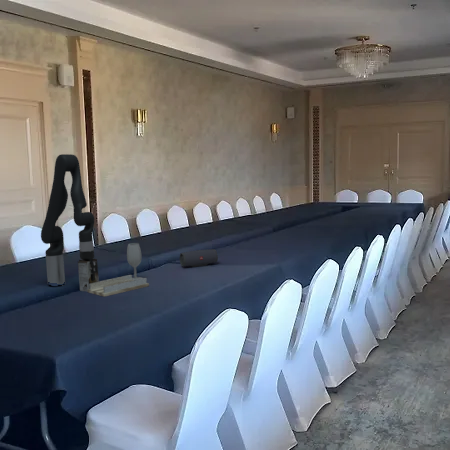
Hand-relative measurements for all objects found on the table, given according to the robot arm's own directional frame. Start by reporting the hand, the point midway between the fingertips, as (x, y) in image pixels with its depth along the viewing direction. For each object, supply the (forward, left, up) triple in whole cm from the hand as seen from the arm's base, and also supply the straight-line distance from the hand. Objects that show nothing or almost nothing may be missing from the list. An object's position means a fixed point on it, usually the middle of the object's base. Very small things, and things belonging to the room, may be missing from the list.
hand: (89, 279), depth 298 cm
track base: (+13, +10, -5) cm, 17 cm away
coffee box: (0, 0, -6) cm, 6 cm away
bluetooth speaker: (+2, +77, -6) cm, 77 cm away
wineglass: (+3, +28, -6) cm, 29 cm away
